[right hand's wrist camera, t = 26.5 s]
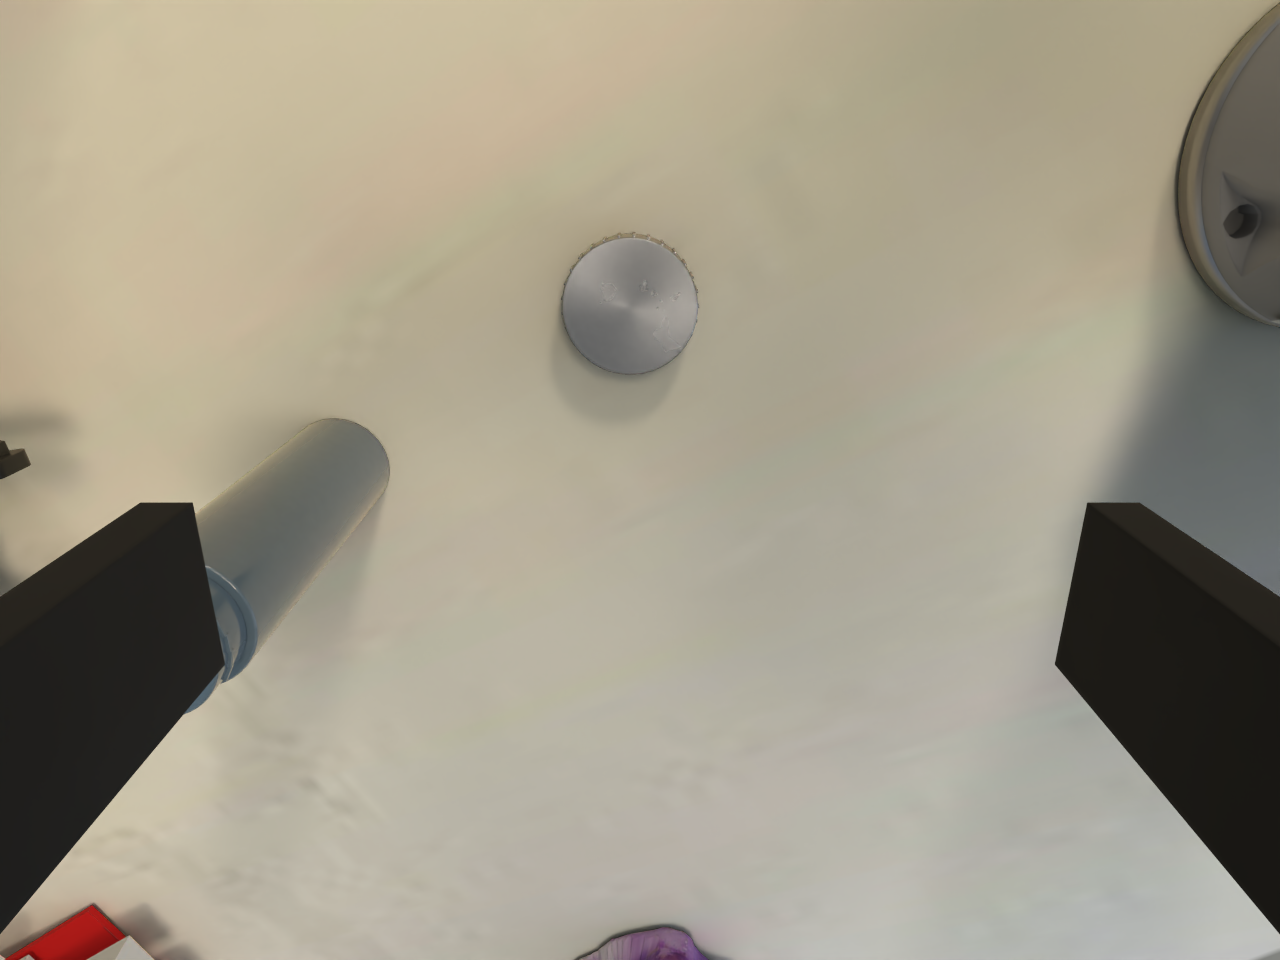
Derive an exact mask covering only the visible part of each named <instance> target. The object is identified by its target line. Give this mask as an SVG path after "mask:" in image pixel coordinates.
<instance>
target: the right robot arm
mask: <svg viewBox="0 0 1280 960" xmlns="http://www.w3.org/2000/svg"><path fill="white" fill-rule="evenodd" d="M1178 205H1179V216H1180V223H1181V229H1182V233H1183V237H1184V240H1185V244H1186V247H1187V249H1188V252H1189V254H1190V257H1191V259H1192V261H1193V263H1194V265H1195V267H1196V269H1197V271H1198V272H1199V274H1200V275H1201V276H1202V278H1203V279H1204V281H1205V282H1206V284H1207V285H1208V286H1209V287H1210V288H1211V289H1212V290H1213V291H1214V293H1215V294H1216V295H1217V296H1219V297H1220V298H1221V299H1222V300H1223V301H1224V302H1225V303H1227V304H1228V305H1229V306H1231V307H1232V308H1234V309H1235V310H1237V311H1238V312H1240V313H1242V314H1244V315H1246V316H1248V317H1250V318H1252V319H1254V320H1257V321H1260V322H1262V323H1265V324H1269V325H1273V326H1276V327H1280V3H1279V4H1278V5H1277V6H1275V7H1274V8H1273V9H1272V10H1271V11H1270V12H1268V13H1267V14H1266V15H1265V16H1264V17H1263V18H1262V19H1261V20H1260V21H1259V22H1258V23H1257V24H1256V25H1255V26H1254V27H1253V28H1252V29H1251V30H1250V31H1249V32H1248V33H1247V34H1246V35H1245V36H1244V37H1243V38H1242V40H1241V41H1240V42H1239V43H1238V44H1237V45H1236V47H1235V48H1234V49H1233V50H1232V52H1231V53H1230V54H1229V56H1228V57H1227V58H1226V60H1225V61H1224V63H1223V64H1222V65H1221V67H1220V68H1219V70H1218V72H1217V73H1216V75H1215V76H1214V78H1213V80H1212V81H1211V83H1210V84H1209V86H1208V88H1207V90H1206V92H1205V94H1204V96H1203V98H1202V100H1201V102H1200V104H1199V106H1198V109H1197V111H1196V113H1195V116H1194V118H1193V120H1192V123H1191V126H1190V129H1189V132H1188V135H1187V138H1186V142H1185V146H1184V151H1183V155H1182V159H1181V166H1180V173H1179V185H1178ZM224 665H225V661H224V656H223V651H222V646H221V641H220V636H219V631H218V627H217V622H216V617H215V612H214V607H213V602H212V597H211V592H210V587H209V582H208V577H207V572H206V567H205V562H204V557H203V552H202V547H201V542H200V537H199V532H198V527H197V522H196V517H195V512H194V507H193V503H139V504H138V505H136V506H135V507H133V508H132V509H130V510H129V511H127V512H126V513H124V514H123V515H121V516H120V517H118V518H117V519H115V520H114V521H112V522H111V523H110V524H108V525H107V526H105V527H104V528H102V529H101V530H99V531H98V532H96V533H95V534H93V535H92V536H90V537H89V538H87V539H86V540H84V541H83V542H81V543H80V544H78V545H77V546H75V547H74V548H72V549H71V550H69V551H68V552H66V553H65V554H63V555H62V556H60V557H59V558H57V559H56V560H54V561H53V562H51V563H50V564H49V565H47V566H46V567H44V568H43V569H41V570H40V571H38V572H37V573H35V574H34V575H32V576H31V577H29V578H28V579H26V580H25V581H23V582H22V583H20V584H19V585H17V586H16V587H14V588H13V589H11V590H10V591H8V592H7V593H5V594H4V595H2V596H1V597H0V934H1V932H2V931H3V930H4V929H5V928H6V926H7V925H8V924H9V923H10V922H11V920H12V919H13V918H14V917H15V916H16V915H17V913H18V912H19V911H20V910H21V909H22V907H23V906H24V905H25V904H26V903H27V901H28V900H29V899H30V898H31V897H32V895H33V894H34V893H35V892H36V891H37V889H38V888H39V887H40V886H41V885H42V883H43V882H44V881H45V880H46V879H47V877H48V876H49V875H50V874H51V873H52V871H53V870H54V869H55V868H56V867H57V865H58V864H59V863H60V862H61V861H62V859H63V858H64V857H65V856H66V855H67V853H68V852H69V851H70V850H71V849H72V847H73V846H74V845H75V844H76V843H77V841H78V840H79V839H80V838H81V837H82V835H83V834H84V833H85V832H86V831H87V829H88V828H89V827H90V826H91V825H92V823H93V822H94V821H95V820H96V819H97V817H98V816H99V815H100V814H101V813H102V811H103V810H104V809H105V808H106V807H107V805H108V804H109V803H110V802H111V801H112V799H113V798H114V797H115V796H116V795H117V793H118V792H119V791H120V790H121V789H122V787H123V786H124V785H125V784H126V783H127V781H128V780H129V779H130V778H131V777H132V775H133V774H134V773H135V772H136V771H137V769H138V768H139V767H140V766H141V765H142V763H143V762H144V761H145V760H146V759H147V757H148V756H149V755H150V754H151V753H152V751H153V750H154V749H155V748H156V747H157V745H158V744H159V743H160V742H161V741H162V739H163V738H164V737H165V736H166V735H167V733H168V732H169V731H170V730H171V729H172V727H173V726H174V725H175V724H176V723H177V721H178V720H179V719H180V718H181V717H182V715H183V714H184V713H185V712H186V711H187V709H188V708H189V707H190V706H191V705H192V703H193V702H194V701H195V700H196V699H197V697H198V696H199V695H200V694H201V693H202V691H203V690H204V689H205V688H206V687H207V685H208V684H209V683H210V682H211V681H212V679H213V678H214V677H215V676H216V675H217V674H218V672H219V671H220V670H221V669H222V668H223V666H224ZM1055 665H1056V666H1057V668H1058V669H1059V670H1060V671H1061V672H1062V674H1063V675H1064V676H1065V677H1066V678H1067V679H1068V681H1069V682H1070V683H1071V684H1072V685H1073V687H1074V688H1075V689H1076V690H1077V691H1078V693H1079V694H1080V695H1081V696H1082V697H1083V699H1084V700H1085V701H1086V702H1087V703H1088V705H1089V706H1090V707H1091V708H1092V709H1093V711H1094V712H1095V713H1096V714H1097V715H1098V717H1099V718H1100V719H1101V720H1102V721H1103V723H1104V724H1105V725H1106V726H1107V727H1108V729H1109V730H1110V731H1111V732H1112V733H1113V735H1114V736H1115V737H1116V738H1117V739H1118V741H1119V742H1120V743H1121V744H1122V745H1123V747H1124V748H1125V749H1126V750H1127V751H1128V753H1129V754H1130V755H1131V756H1132V757H1133V759H1134V760H1135V761H1136V762H1137V763H1138V765H1139V766H1140V767H1141V768H1142V769H1143V771H1144V772H1145V773H1146V774H1147V775H1148V777H1149V778H1150V779H1151V780H1152V781H1153V783H1154V784H1155V785H1156V786H1157V787H1158V789H1159V790H1160V791H1161V792H1162V793H1163V795H1164V796H1165V797H1166V798H1167V799H1168V801H1169V802H1170V803H1171V804H1172V805H1173V807H1174V808H1175V809H1176V810H1177V811H1178V813H1179V814H1180V815H1181V816H1182V817H1183V819H1184V820H1185V821H1186V822H1187V823H1188V825H1189V826H1190V827H1191V828H1192V829H1193V831H1194V832H1195V833H1196V834H1197V835H1198V837H1199V838H1200V839H1201V840H1202V841H1203V843H1204V844H1205V845H1206V846H1207V847H1208V849H1209V850H1210V851H1211V852H1212V853H1213V855H1214V856H1215V857H1216V858H1217V859H1218V861H1219V862H1220V863H1221V864H1222V865H1223V867H1224V868H1225V869H1226V870H1227V871H1228V873H1229V874H1230V875H1231V876H1232V877H1233V879H1234V880H1235V881H1236V882H1237V883H1238V885H1239V886H1240V887H1241V888H1242V889H1243V891H1244V892H1245V893H1246V894H1247V895H1248V897H1249V898H1250V899H1251V900H1252V901H1253V903H1254V904H1255V905H1256V906H1257V907H1258V909H1259V910H1260V911H1261V912H1262V913H1263V915H1264V916H1265V917H1266V918H1267V919H1268V920H1269V922H1270V923H1271V924H1272V925H1273V926H1274V928H1275V929H1276V930H1277V931H1278V932H1279V934H1280V597H1279V596H1278V595H1276V594H1275V593H1273V592H1272V591H1270V590H1269V589H1267V588H1266V587H1264V586H1263V585H1261V584H1260V583H1258V582H1257V581H1255V580H1254V579H1252V578H1251V577H1249V576H1248V575H1246V574H1245V573H1243V572H1242V571H1240V570H1239V569H1237V568H1236V567H1234V566H1233V565H1231V564H1230V563H1229V562H1227V561H1226V560H1224V559H1223V558H1221V557H1220V556H1218V555H1217V554H1215V553H1214V552H1212V551H1211V550H1209V549H1208V548H1206V547H1205V546H1203V545H1202V544H1200V543H1199V542H1197V541H1196V540H1194V539H1193V538H1191V537H1190V536H1188V535H1187V534H1185V533H1184V532H1182V531H1181V530H1179V529H1178V528H1176V527H1175V526H1173V525H1172V524H1170V523H1169V522H1168V521H1166V520H1165V519H1163V518H1162V517H1160V516H1159V515H1157V514H1156V513H1154V512H1153V511H1151V510H1150V509H1148V508H1147V507H1145V506H1144V505H1142V504H1141V503H1087V507H1086V512H1085V517H1084V522H1083V527H1082V532H1081V537H1080V542H1079V547H1078V552H1077V557H1076V562H1075V567H1074V572H1073V577H1072V582H1071V587H1070V592H1069V597H1068V602H1067V607H1066V612H1065V617H1064V622H1063V627H1062V631H1061V636H1060V641H1059V646H1058V651H1057V656H1056V661H1055Z"/></svg>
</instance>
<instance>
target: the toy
mask: <svg viewBox="0 0 1280 960" xmlns="http://www.w3.org/2000/svg"><path fill="white" fill-rule="evenodd" d="M0 960H154V959H153V958H152V957H151V956H150V955H149V954H148V953H147V952H146V951H145V950H144V949H143V948H142V947H141V946H140V945H139V944H138V943H137V942H136V941H135V940H134V939H133V938H132V937H131V936H130V935H129V936H127V937H126V936H125V935H124V934H123V933H122V932H120V931H119V930H118V929H117V928H116V927H115V926H114V925H113V924H112V923H111V922H110V921H109V920H107V919H106V918H105V917H104V916H103V915H102V914H101V913H100V912H99V911H98V910H97V909H96V908H94V907H93V906H92V905H91V906H90V907H88V908H86V909H85V910H83V911H82V912H80V913H78V914H77V915H75V916H74V917H72V918H70V919H69V920H67V921H65V922H64V923H62V924H61V925H59V926H57V927H56V928H54V929H53V930H51V931H49V932H48V933H46V934H45V935H43V936H41V937H40V938H38V939H37V940H35V941H33V942H32V943H30V944H28V945H27V946H25V947H24V948H22V949H20V950H19V951H17V952H16V953H14V954H12V955H11V956H9V957H8V958H6V959H5V958H4V957H3V956H1V955H0Z"/></svg>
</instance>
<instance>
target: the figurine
mask: <svg viewBox="0 0 1280 960" xmlns="http://www.w3.org/2000/svg"><path fill="white" fill-rule="evenodd" d="M579 960H708V959H707V958H706V957H705V956H703V955H702V954H701V953H700V952H699V951H698V949H697V948H696V947H695V946H694V943H693V941H692V939H691V938H690V937H689V936H688V935H687V934H686V933H685V932H684V931H679V930H676V929H673V928H670V927H661V928H658V929H654V930H648V931H643V932H637V933H632V934H627V935H624V936H621V937H618V938H615V939H614V938H612V939H611V940H610V941H609V942H608V943H606V944H605V945H603V946H602V947H601V948H600V949H599V950H598V951H596V952H594V953H592V954H591V955H587V956H586V957H583V958H581V959H579Z"/></svg>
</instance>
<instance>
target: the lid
mask: <svg viewBox="0 0 1280 960" xmlns="http://www.w3.org/2000/svg"><path fill="white" fill-rule="evenodd" d="M578 259H579V261H578V262H577V263H576V265H573V266H572V268H571V269H570V271H571V273H570V275H569V277H568V278H567V280H566V281H565V283H564V285H565V288H564V292H563V296H562V298H561V300H562V315H563V319H564V323H565V328H566V330H567V332H568V335H569V337H570V339H571V341H572V342H573V344H574V345H575V347H576V348H577V349H578V350H579V352H580V353H581V354H582V355H583V356H584V357H585V358H587V359H588V360H589V361H591V362H592V363H593V364H595V365H597V366H599V367H600V368H603V369H605V370H607V371H610V372H614V373H619V374H642V373H646V372H650V371H653V370H656V369H658V368H660V367H662V366H664V365H666V364H667V363H669V362H670V361H671V360H673V359H674V358H675V357H676V356H677V355H678V354H679V353H680V352H681V351H682V350H683V349H684V347H685V346H686V344H687V343H688V341H689V339H690V337H691V336H692V333H693V331H694V327H695V324H696V322H697V314H698V308H699V304H698V300H697V293H698V290H697V288H696V286H695V285H694V282H693V280H692V279H693V278H694V277H693V275H692V273H691V272H689V271H688V269H687V267H686V265H687V264H686V262H685V260H684V259H683V260H682V259H681V258H680V257H679V256H678V255H677V254H676V251H675V249H674V248H673V249H671V248H670V247H668V246H667V245H666V244H664V242H663V240H661V241H659V240H656V239H654V238H652V237H650V235H648V234H647V236H645V235H639V234H635V232H633V234H621V233H618V235H616V236H612V237H609V238H607V237H604V239H603V240H602V241H600V242H598V243H597V244H595V245H594V244H592V245H591V246H590V249H588V250H587V251H586V252H585V253H584V254H583V253H582V254H581V255H580V256H579V258H578Z"/></svg>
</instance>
